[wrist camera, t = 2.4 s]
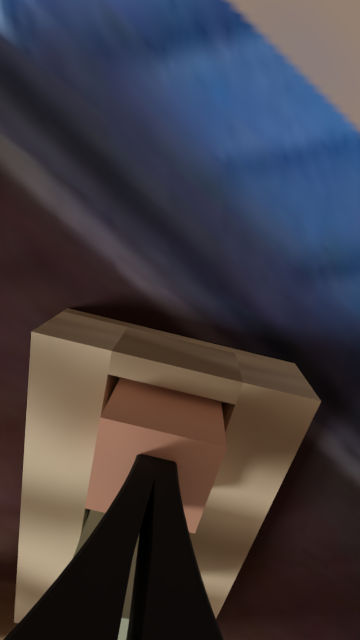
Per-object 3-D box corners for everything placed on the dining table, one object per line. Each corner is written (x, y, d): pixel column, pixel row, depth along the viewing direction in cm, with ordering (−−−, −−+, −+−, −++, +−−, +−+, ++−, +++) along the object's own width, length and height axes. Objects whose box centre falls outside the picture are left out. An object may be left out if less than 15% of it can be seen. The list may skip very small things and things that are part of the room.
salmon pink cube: (195, 451, 14) (195, 533, 10) (115, 432, 14) (84, 508, 10) (218, 381, 13) (226, 447, 9) (129, 360, 13) (100, 417, 9)
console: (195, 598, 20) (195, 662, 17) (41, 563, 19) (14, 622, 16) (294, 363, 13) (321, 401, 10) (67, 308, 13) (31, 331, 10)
